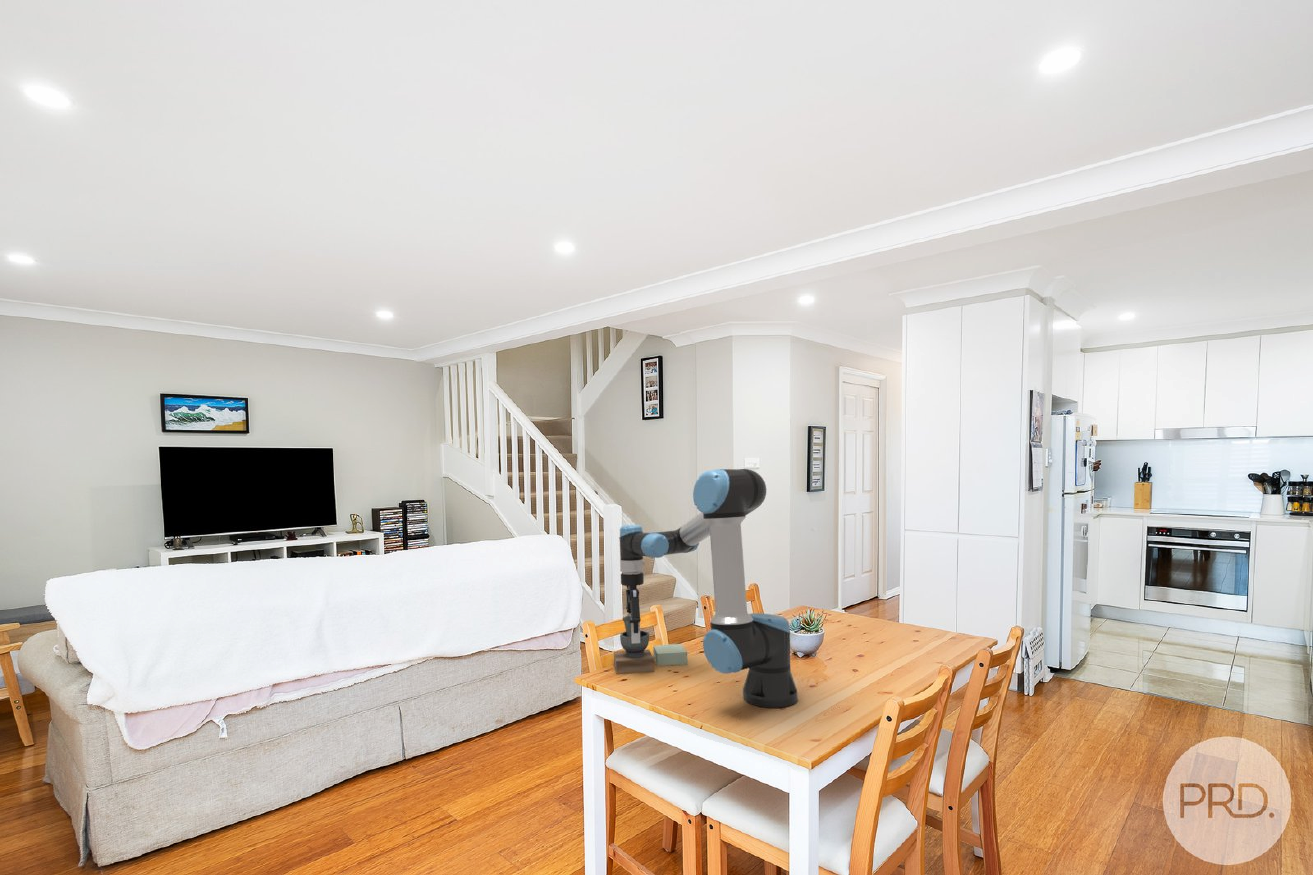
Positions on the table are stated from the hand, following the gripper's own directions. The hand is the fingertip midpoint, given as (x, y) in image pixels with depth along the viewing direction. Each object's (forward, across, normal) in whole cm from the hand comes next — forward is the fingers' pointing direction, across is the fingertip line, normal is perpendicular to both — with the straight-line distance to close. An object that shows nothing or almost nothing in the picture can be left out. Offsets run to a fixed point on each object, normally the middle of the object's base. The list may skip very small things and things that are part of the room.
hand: (633, 637), depth 211 cm
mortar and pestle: (+6, +1, 0) cm, 6 cm away
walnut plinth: (+10, 0, 0) cm, 10 cm away
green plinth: (+10, +6, -13) cm, 17 cm away
